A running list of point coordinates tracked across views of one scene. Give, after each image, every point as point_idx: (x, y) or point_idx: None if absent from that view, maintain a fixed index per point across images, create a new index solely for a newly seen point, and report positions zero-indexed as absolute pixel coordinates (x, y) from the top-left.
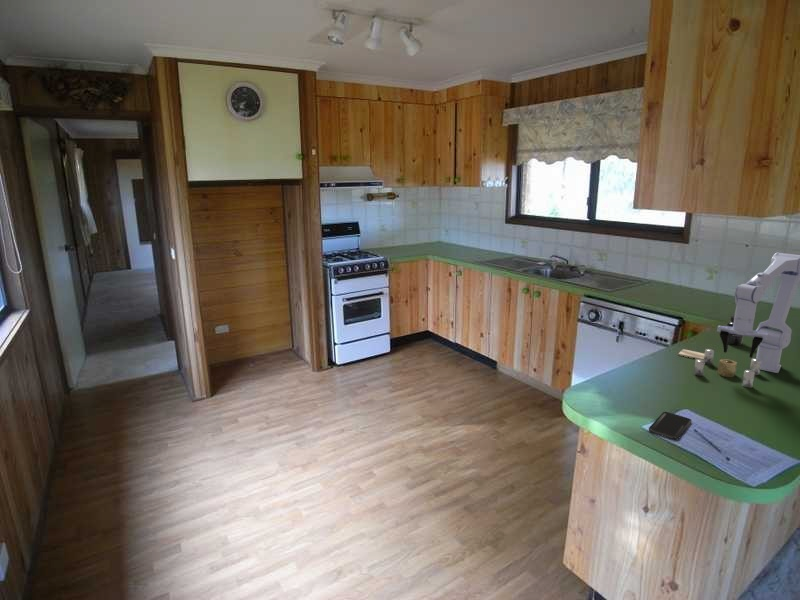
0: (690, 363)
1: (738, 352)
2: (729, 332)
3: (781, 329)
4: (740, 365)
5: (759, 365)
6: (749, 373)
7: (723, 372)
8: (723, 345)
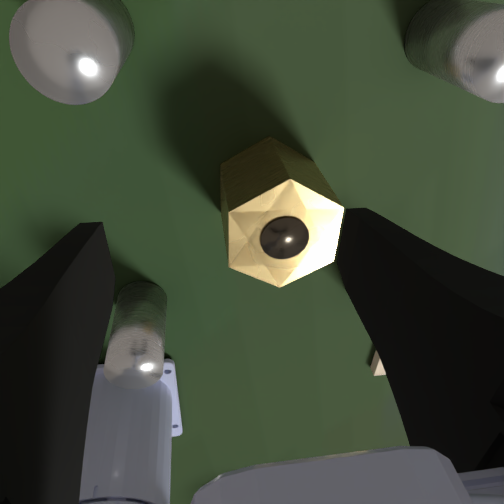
0: (458, 225)
1: (259, 462)
2: (497, 485)
3: None
4: (225, 355)
5: (111, 336)
6: None
7: (284, 152)
8: (426, 243)
